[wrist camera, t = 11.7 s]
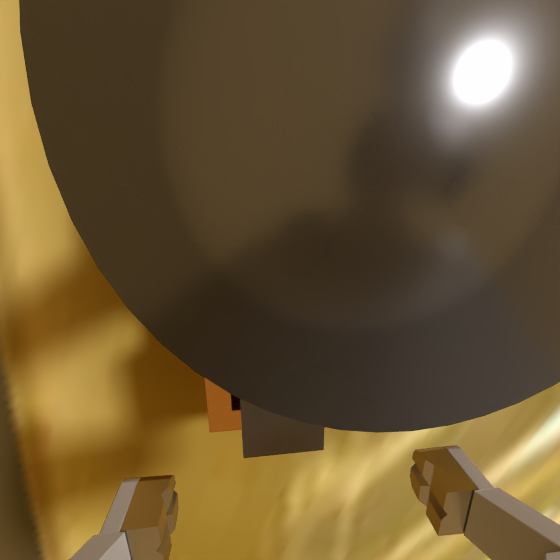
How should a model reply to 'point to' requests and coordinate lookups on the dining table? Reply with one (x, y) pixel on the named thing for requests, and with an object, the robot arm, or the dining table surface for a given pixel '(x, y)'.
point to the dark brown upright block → (276, 433)
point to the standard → (318, 194)
